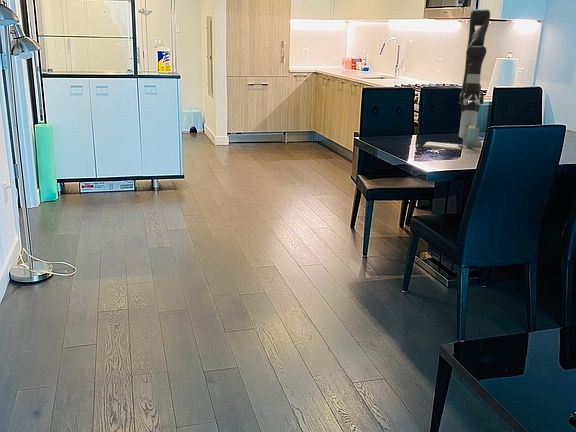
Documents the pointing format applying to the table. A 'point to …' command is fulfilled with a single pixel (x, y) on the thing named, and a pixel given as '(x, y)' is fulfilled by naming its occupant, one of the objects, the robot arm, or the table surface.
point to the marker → (470, 137)
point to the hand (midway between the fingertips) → (469, 111)
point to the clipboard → (443, 145)
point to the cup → (474, 135)
